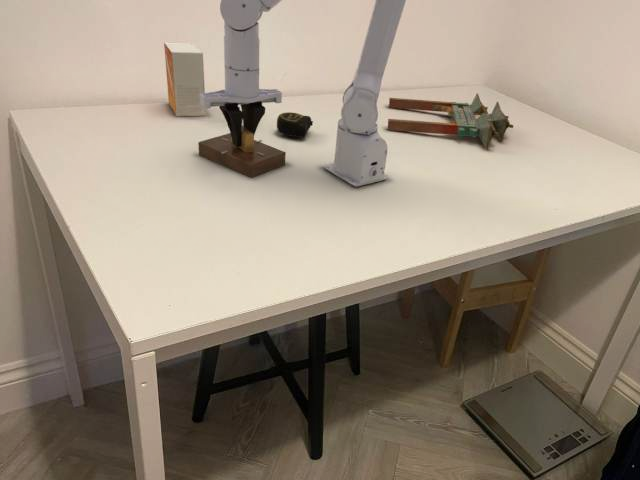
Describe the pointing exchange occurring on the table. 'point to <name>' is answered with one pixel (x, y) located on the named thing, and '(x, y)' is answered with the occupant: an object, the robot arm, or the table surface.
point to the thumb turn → (246, 140)
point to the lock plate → (242, 155)
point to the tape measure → (293, 124)
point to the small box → (185, 78)
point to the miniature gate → (464, 120)
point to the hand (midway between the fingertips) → (242, 143)
